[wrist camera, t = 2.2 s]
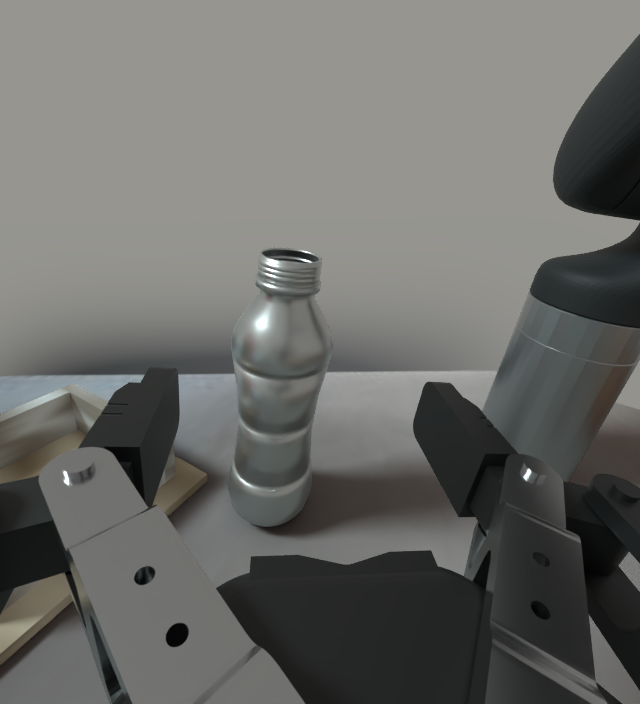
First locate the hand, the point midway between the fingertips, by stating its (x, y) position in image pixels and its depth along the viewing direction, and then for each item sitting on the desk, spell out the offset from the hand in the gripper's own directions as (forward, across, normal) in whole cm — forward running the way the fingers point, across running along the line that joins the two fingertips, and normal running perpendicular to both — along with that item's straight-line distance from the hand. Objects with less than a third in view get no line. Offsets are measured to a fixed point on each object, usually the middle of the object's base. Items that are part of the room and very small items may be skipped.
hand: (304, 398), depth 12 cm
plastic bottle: (+12, 0, +18) cm, 21 cm away
